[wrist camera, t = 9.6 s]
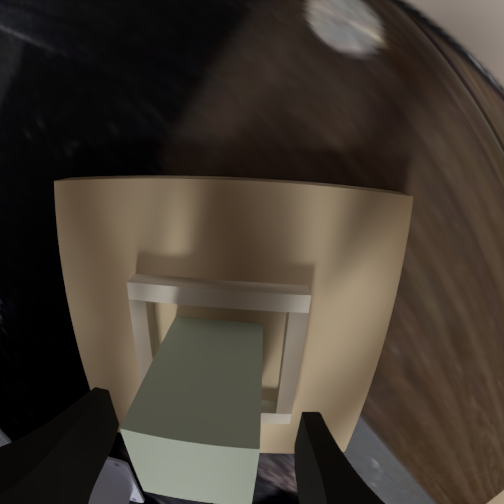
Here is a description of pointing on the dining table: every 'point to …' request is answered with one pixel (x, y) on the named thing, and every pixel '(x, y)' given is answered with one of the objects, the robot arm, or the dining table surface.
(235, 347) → the sage block
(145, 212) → the display plinth
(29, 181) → the dining table surface
